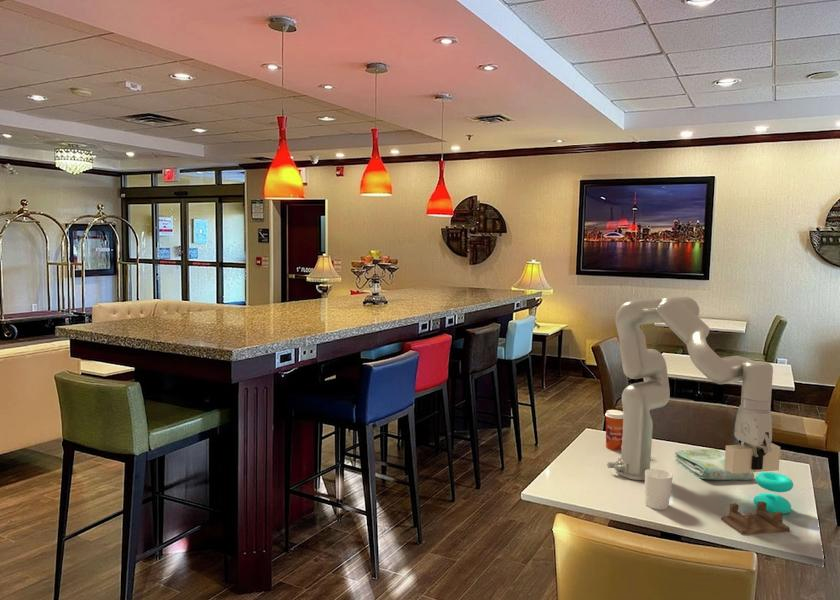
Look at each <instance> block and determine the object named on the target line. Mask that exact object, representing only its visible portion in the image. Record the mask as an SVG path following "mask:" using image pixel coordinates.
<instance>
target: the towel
mask: <svg viewBox="0 0 840 600" xmlns="http://www.w3.org/2000/svg"><path fill="white" fill-rule="evenodd" d="M674 453H675V456H674V457H675V462H676V461H677V462H678V463H677V462H676V463H677V464H678V465H680V464H681V465H682V466H681V465H680V466H681V467H682V468H684V467H685V468H684V469H686V470H687V469H688V470H689V471H688V470H687V471H688V472H689V473H691V474H692V473H693V474H692V475H694V476H695V477H697V478H698V479H701V480H714V481H715V480H716V481H718V480H719V481H751V480H753V479H754V478H755V472H748V473H733V474H732V473H731V472H729V471H727V470H725V469H724V466H725V452H723V451H721V450H718V449H717V448H716V449H715V448H689V449H680V450H678V451H675V452H674Z"/></svg>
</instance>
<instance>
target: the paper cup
mask: <svg viewBox="0 0 840 600" xmlns="http://www.w3.org/2000/svg"><path fill="white" fill-rule="evenodd" d="M604 415H605V448H606V449H607V450H611V451H622V436H623V410H618V409H608V410H606V412H605V414H604Z"/></svg>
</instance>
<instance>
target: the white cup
mask: <svg viewBox="0 0 840 600" xmlns="http://www.w3.org/2000/svg"><path fill="white" fill-rule="evenodd" d="M673 476H674V475H673V474H672V473H671V472H670V471H668V470H665V469H661V468H650V469H647V470H645V480H644V504H645V506H646V507H648V508H651V509H654V510H661V511H662V510H667V509H668V508H669V506H670V499H671V491H672V485H673Z"/></svg>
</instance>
